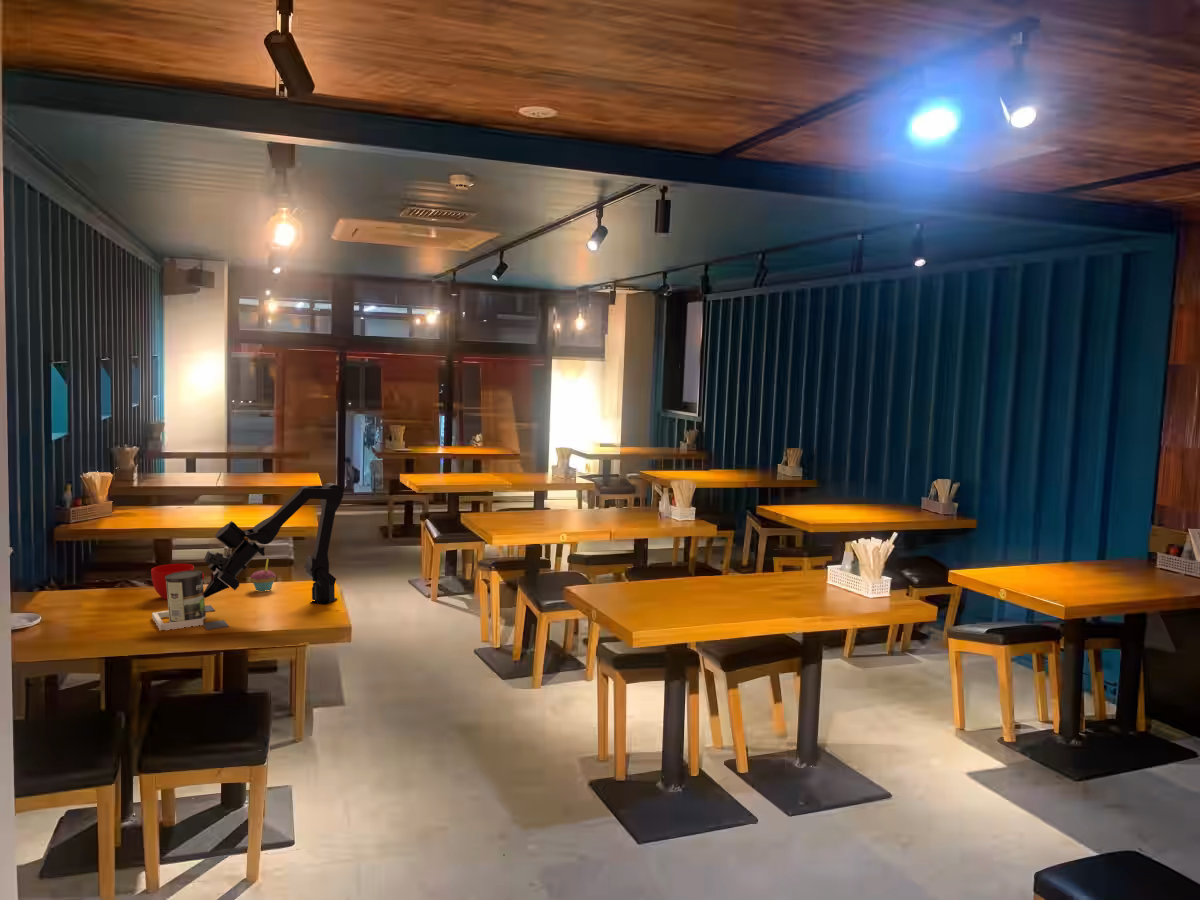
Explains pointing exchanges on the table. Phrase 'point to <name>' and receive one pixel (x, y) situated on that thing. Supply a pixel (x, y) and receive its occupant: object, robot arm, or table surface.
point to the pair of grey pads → (215, 623)
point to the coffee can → (185, 596)
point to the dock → (173, 625)
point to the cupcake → (263, 579)
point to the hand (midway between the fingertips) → (203, 596)
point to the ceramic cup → (163, 571)
